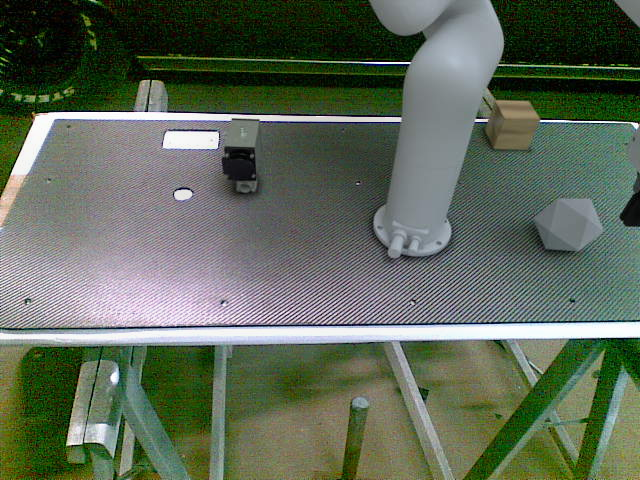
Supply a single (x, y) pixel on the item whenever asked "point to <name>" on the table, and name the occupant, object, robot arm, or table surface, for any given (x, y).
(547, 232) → the die
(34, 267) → the table surface
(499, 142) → the maple block
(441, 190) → the robot arm
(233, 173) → the pneumatic valve
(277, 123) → the table surface
